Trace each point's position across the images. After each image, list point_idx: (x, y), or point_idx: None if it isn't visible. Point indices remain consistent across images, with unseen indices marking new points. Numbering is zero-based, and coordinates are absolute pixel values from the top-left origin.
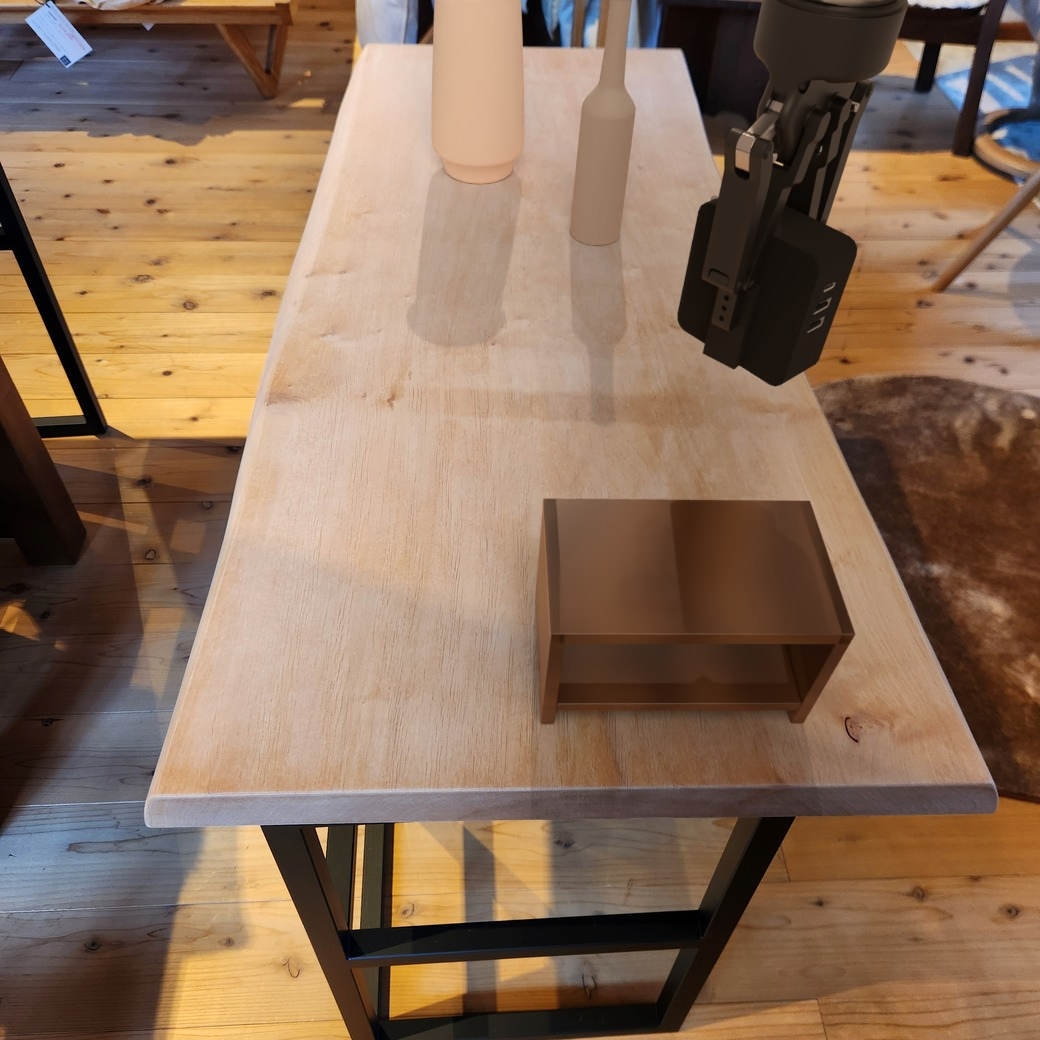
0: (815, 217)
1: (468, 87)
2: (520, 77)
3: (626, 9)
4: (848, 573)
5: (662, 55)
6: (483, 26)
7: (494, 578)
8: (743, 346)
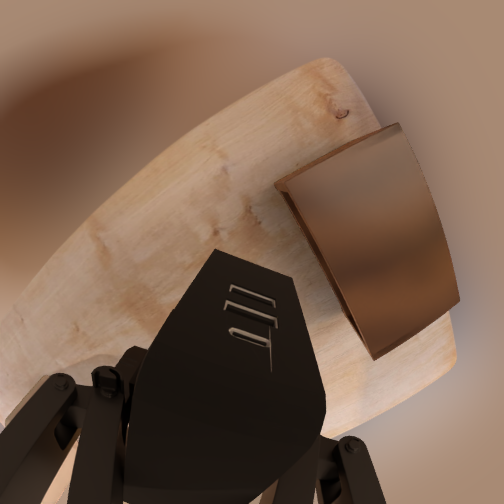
0: (86, 424)
1: (60, 475)
2: None
3: None
4: (223, 141)
5: None
6: None
7: (340, 336)
8: None
